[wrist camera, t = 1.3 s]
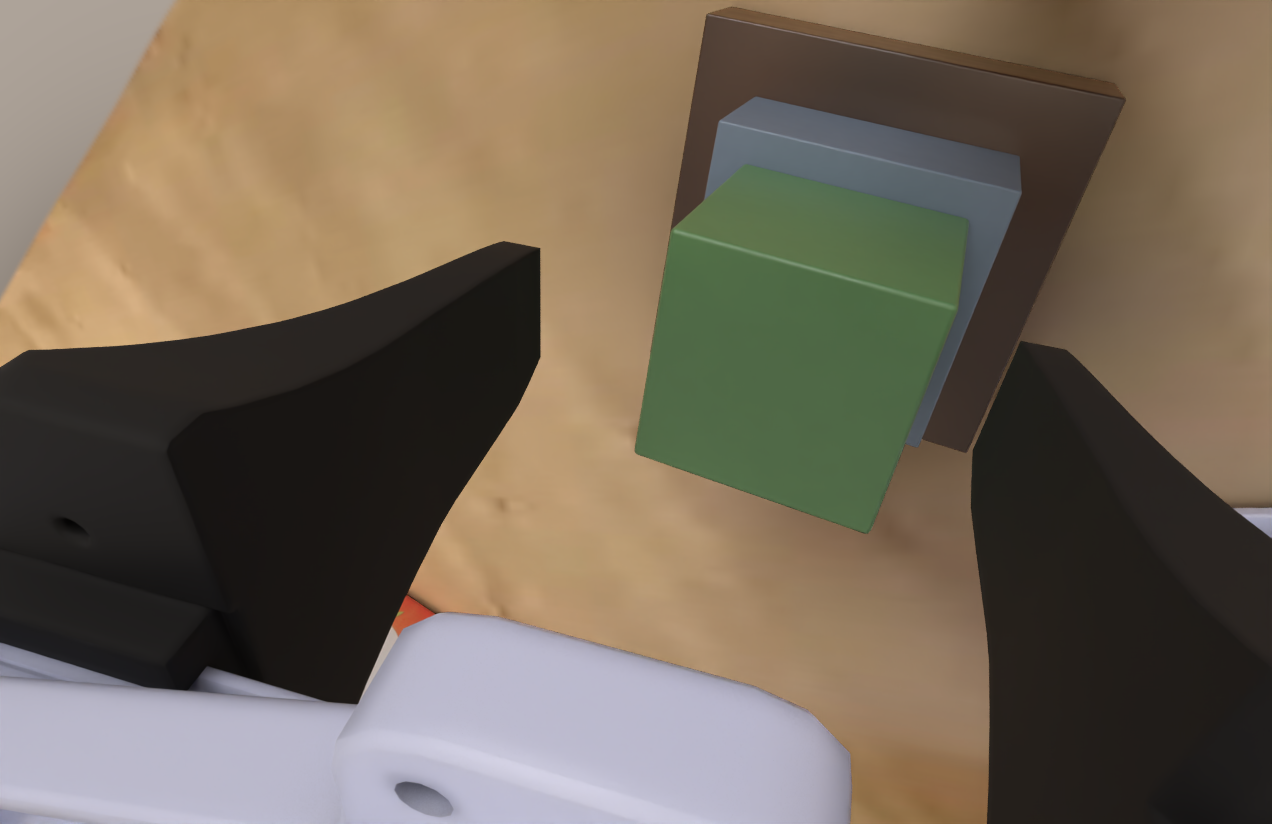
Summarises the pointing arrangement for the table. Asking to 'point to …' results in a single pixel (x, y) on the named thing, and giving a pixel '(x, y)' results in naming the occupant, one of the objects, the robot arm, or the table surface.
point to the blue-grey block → (883, 186)
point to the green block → (799, 340)
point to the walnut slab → (935, 106)
